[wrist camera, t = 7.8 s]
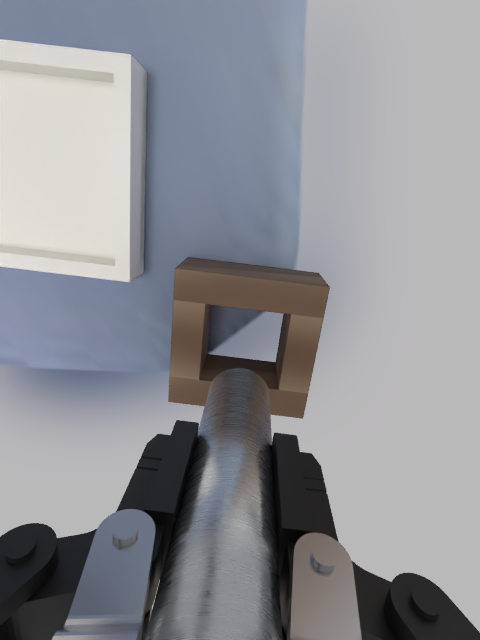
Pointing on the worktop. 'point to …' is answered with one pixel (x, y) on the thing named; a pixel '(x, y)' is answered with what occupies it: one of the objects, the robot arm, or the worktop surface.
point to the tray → (72, 161)
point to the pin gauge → (225, 525)
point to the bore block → (256, 294)
